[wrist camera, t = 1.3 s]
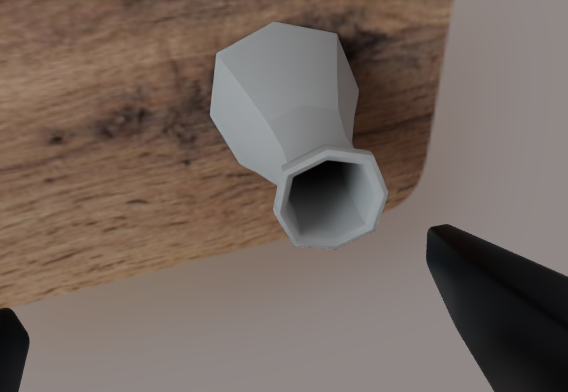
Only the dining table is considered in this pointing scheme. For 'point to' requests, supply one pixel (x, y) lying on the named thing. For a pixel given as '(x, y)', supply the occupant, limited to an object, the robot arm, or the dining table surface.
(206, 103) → the dining table surface
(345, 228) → the flask
